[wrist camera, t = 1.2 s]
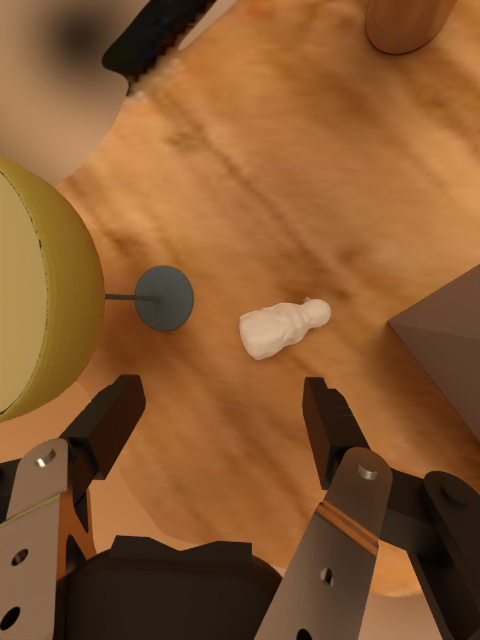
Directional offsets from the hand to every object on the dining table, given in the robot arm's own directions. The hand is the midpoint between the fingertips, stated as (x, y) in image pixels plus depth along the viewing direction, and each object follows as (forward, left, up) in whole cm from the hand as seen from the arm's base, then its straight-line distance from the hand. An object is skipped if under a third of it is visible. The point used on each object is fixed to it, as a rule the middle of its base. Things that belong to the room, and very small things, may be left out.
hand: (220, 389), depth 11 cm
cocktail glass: (+7, -17, -24) cm, 31 cm away
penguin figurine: (-3, +1, -24) cm, 25 cm away
